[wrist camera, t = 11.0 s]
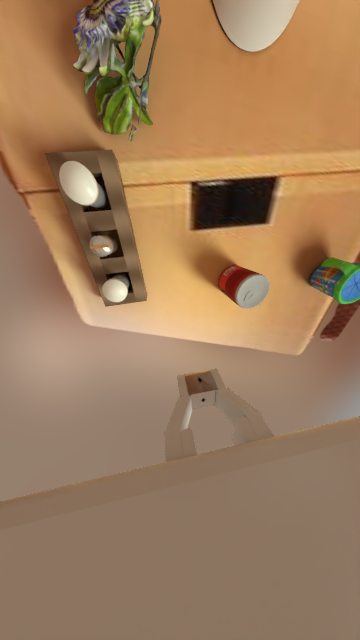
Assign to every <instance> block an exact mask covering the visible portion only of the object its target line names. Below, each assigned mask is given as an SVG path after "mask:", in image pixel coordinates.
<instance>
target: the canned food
mask: <svg viewBox="0 0 360 640" xmlns="http://www.w3.org/2000/svg"><path fill="white" fill-rule="evenodd" d="M269 287H270V285H269V280H268V279H267V278H266V277H265V276H264V275H262V274H259V273H256V272H254V271H251V270H248V269H245V268H242V267H239V266H232V267H229V268H227V269H226V270H224V271H223V273H222V274H221V276H220V278H219V288H220V290H221V291H222V292H223V293H224V294H225V295H227V296H228V297H229V298H230V299H231V300H233V301H234V302H235V303H236V304H237V305H239V306H240V307H242V308H246V309H248V308H253V307H255V306H257V305H259V304H260V303H261V302H262V301H263V300H264V299H265V297H266V296H267V294H268V292H269Z"/></svg>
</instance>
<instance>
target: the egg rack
mask: <svg viewBox="0 0 360 640" xmlns="http://www.w3.org/2000/svg"><path fill="white" fill-rule="evenodd" d="M45 155H46V157H47V160H48V162H49V165H50V167H51V170H52V172H53V175H54V177H55V180H56V182H57V185H58V187H59V190H60V192H61V195H62V198H63V200H64V203H65V205H66V208H67V210H68V213H69V215H70V218H71V220H72V223H73V225H74V228H75V230H76V233H77V235H78V238H79V241H80V243H81V246H82V248H83V251H84V253H85V256H86V258H87V261H88V263H89V266H90V268H91V271H92V273H93V276H94V278H95V281H96V283H97V286H98V289H99V291H100V294H101V296H102V299H103V301H104V304H105V306H113V305H120V304H127V303H134V302H141V301H147V292H146V287H145V283H144V278H143V274H142V269H141V265H140V260H139V256H138V251H137V247H136V242H135V238H134V233H133V229H132V224H131V220H130V215H129V211H128V206H127V202H126V197H125V192H124V188H123V183H122V179H121V174H120V170H119V165H118V161H117V159H116V157H115V155H114V153H113V151H112V150H96V151H77V152H59V153H45ZM67 161H76V162H79V163H81V164H82V165H83V166H85V167H86V168H87V169H88V170H89V171H90V172H91V173H92V175H93V176H94V177H95V179H96V181H104V183H105V187H106V190H107V194H108V198H109V202H110V205H111V209H112V210H105V211H94V212H90V209H89V206H84V205H81V204H79V203H77V202H75V201H73V200H72V199H71V198H69V196H68V195H67V194H66V193H65V191H64V190H63V188H62V186H61V183H60V178H59V172H60V168H61V166H62V165H63V164H64V163H65V162H67ZM114 230H117V231H118V235H119V239H120V243H121V246H122V250H123V254H124V255H121V256H112V257H105V256H104V257H100V256H97V255H96V254H94V253H93V252H92V250H91V249H90V240H91V238H92V237H94V236H98V233H97V232H105V231H114ZM127 271H128V272H129V276H130V280H131V284H132V287H133V288H129V289H128V294H127V296H126V298H125V299H124V300H123V301H121V302H112V301H110V300H108V299H107V298H106V297H105V296H104V294H103V292H102V287H103V285H104V283H105V282H106V281H107V280H109V279H112V275H111V273H119V272H127Z"/></svg>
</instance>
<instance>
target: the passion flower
mask: <svg viewBox="0 0 360 640" xmlns="http://www.w3.org/2000/svg"><path fill="white" fill-rule="evenodd" d="M154 9H155V10H154ZM76 20H77V22H78V24H77V27H75V28H74V29H73V32H74V34H75V39H76V43H77V44H78V50H80V51H81V53H80V56H79V59H78V61H77V62H76V63H74V64H73V67H74V68H75V69H77V70H79V71H80V72H84V75H86V79H85V83H84V91H85V93H86V94H87V92H88V89H89V87H90V86H92V83H93V81H95V80H96V78H97V76H99V75H100V74H101V75H102V76H104V77H101V78H100V79H99V80H98V81H97V83H96V84H97V87H96V91H95V104H96V108H97V111H98V114H97V118H98V120H99V121H100V122H101V123H103V130H104V132H106V133H110V134H123V133H125V132H126V131H127V130H128V128H129V126H130V124H131V120H132V115H133V110H134V108H135V110H136V113H137V115H138V116H139V121H138V128H137V129H136V127H135V126H134V125H133V124H132V129H131V133H130V137H129V141H132V137H133V135H134V132H135V131H137V130H138V129H139V128H140V119H141V120H142V121H143V122H144V123H146V124H148V125H153V122H152V121H151V119H150V117H149V115H148V113H147V96H148V86H149V73H150V69H151V64H152V59H153V54H154V50H155V46H156V42H157V38H158V36H159V29H160V25H161V16H160V7H159V4H158V0H157V1H156V5H154V2H153V0H94V2H93V5H91V6H86V7H85V8H83V10H81V11H79V12H77V16H76ZM149 25H151V26H153V27H154V28H155V36H154V41H153V45H152V48H151V54H150V58H149V63H148V68H147V71H146V74H145V75H144V76H143V77H142V78H141V79H140V80H139V79H137V77H136V76H135V74H134V73H133V69H134V66H135V58H136V54H137V52H138V50H139V48H140V46H141V43H142V40H143V39H144V35H145V30H146V28H147V26H149ZM125 41H126V45H125V58H124V56H123V54H122V52H121V50H120V48H119V46H118V44H119V43H121V42H125ZM115 46H116V48H117V49H118V51H119V53H120V55H121V56H122V58H123V60H124V61H125V62H124V63H121V62H119V61H118V59H117V58H116V54H115ZM109 70H112V71H118V72H119V73H120V74H121V77H118V76H117V77H116V78H112V77H106V76H107V74H108V72H109ZM132 75H133V77H134V78H135V81H133V80H132ZM136 86H139V88H141V94H140V96H138V95H137V94H136V93H135V89H134V88H135V87H136ZM109 99H110V100H109ZM143 103H144V104H145V107H144V105H143ZM105 109H106V111H105ZM104 115H105V117H103V116H104Z"/></svg>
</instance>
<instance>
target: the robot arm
mask: <svg viewBox="0 0 360 640" xmlns="http://www.w3.org/2000/svg"><path fill="white" fill-rule="evenodd" d="M299 1H300V0H213V3H214V6H215V9H216V13H217V15H218V18H219V21H220V23H221V25H222V27H223V29H224V31H225V33H226V34H227V36H228V37H229V38H230V40H231V41H232V42H233V43H234V44H235V45H236V46H238V47H239V48H241V49H243V50H246V51H251V52H254V51H259V50H262V49H264V48H266V47H268V46H269V45H271V44H272V43H273V42H274V41H275V40H276V39H277V38H278V37H279V36H280V35H281V33H282V32H283V31H284V29H285V28H286V26H287V25H288V23H289V21H290V19H291V17H292V15H293V13H294V11H295V9H296V7H297V5H298V3H299ZM177 378H178V386H179V393H180V397H179V398H178V400H177V403H176V405H175V408H174V410H173V413H172V415H171V417H170V420H169V423H168V425H167V427H166V430H165V432H164V437H165V457H166V462H165V463H160V464H156V465H152V466H148V467H143V468H139V469H135V470H131V471H127V472H122V473H118V474H114V475H110V476H105V477H101V478H97V479H93V480H88V481H84V482H80V483H76V484H72V485H68V486H63V487H59V488H55V489H51V490H46V491H42V492H38V493H34V494H30V495H26V496H21V497H17V498H13V499H9V500H4V501H0V640H360V416H359V417H355V418H350V419H346V420H342V421H337V422H333V423H330V424H325V425H321V426H316V427H312V428H308V429H304V430H299V431H296V432H291V433H287V434H283V435H278V436H274V435H273V434H272V432H271V430H270V429H269V427H268V425H267V424H266V422H265V420H264V419H263V417H262V415H261V413H260V412H259V411H258V410H256V409H255V408H253V407H252V406H251V405H250V404H248V403H247V402H246V401H245V400H243V399H242V398H241V397H239V396H238V395H237V394H235V393H234V392H233V391H231V390H230V389H229V388H226V387H225V385H224V383H223V381H222V379H221V376H220V374H219V372H218V370H217V369H211V370H205V371H200V372H196V373H190V374H184V375H178V376H177ZM213 405H215V406H216V407H217V408H218V410H219V411H220V412H221V413H222V414H223V415H224V416H225V417H226V418H227V419H228V420H229V421H230V422H231V423H232V424H233V425H234V426H235V427H234V430H233V434H232V440H233V442H234V445H235V446H232V447H228V448H223V449H220V450H215V451H211V452H207V453H202V454H198V455H197V453H196V448H195V443H194V438H193V433H192V430H191V429H190V428H187V427H188V423H189V419H190V416H191V412H192V410H193V409H197V408H202V407H206V406H213Z"/></svg>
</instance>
